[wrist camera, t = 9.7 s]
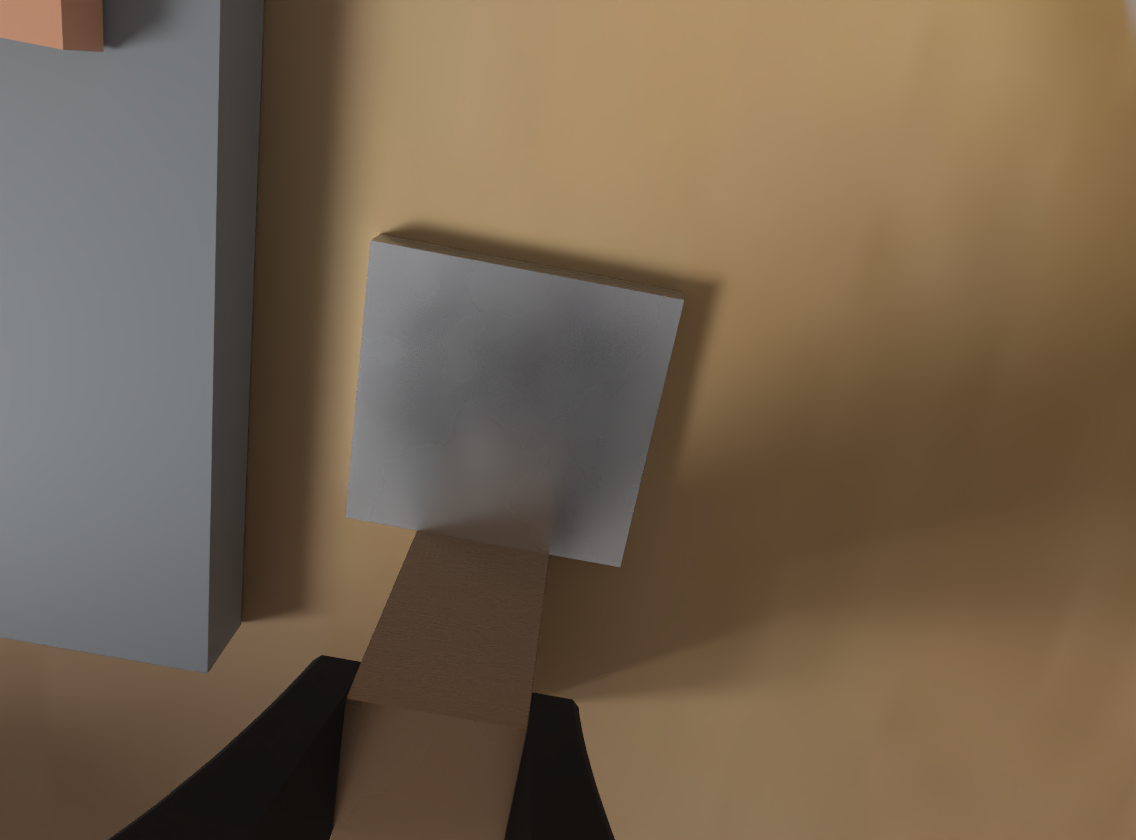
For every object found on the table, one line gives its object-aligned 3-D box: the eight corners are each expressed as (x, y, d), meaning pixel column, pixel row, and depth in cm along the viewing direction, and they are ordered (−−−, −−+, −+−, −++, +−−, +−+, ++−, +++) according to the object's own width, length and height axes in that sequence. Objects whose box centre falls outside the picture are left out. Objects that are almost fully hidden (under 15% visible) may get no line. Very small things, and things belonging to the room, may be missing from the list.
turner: (580, 716, 17) (569, 950, 13) (338, 673, 17) (237, 895, 12) (681, 291, 14) (717, 397, 9) (379, 233, 14) (263, 312, 9)
